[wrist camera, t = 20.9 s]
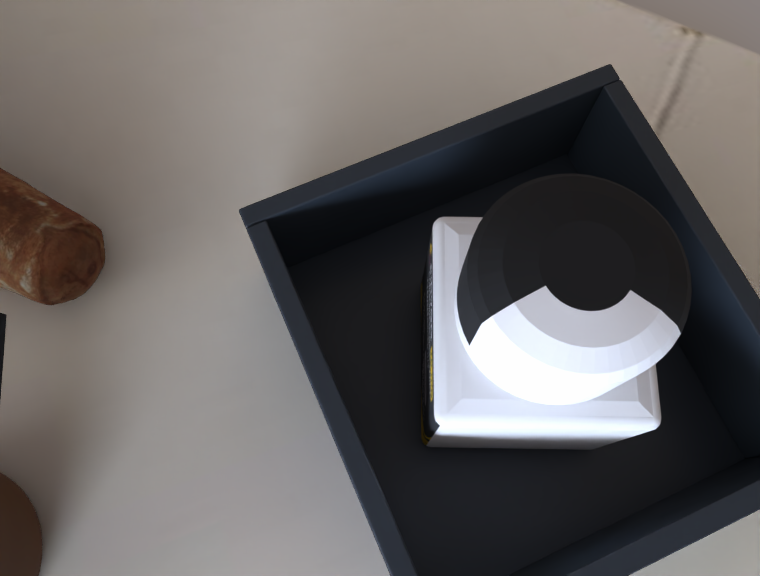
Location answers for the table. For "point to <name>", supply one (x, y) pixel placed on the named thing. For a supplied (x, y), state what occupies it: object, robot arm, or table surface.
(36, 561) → the mug
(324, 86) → the table surface
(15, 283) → the brown cylinder
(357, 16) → the table surface
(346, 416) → the open box
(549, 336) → the medicine bottle
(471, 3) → the table surface
